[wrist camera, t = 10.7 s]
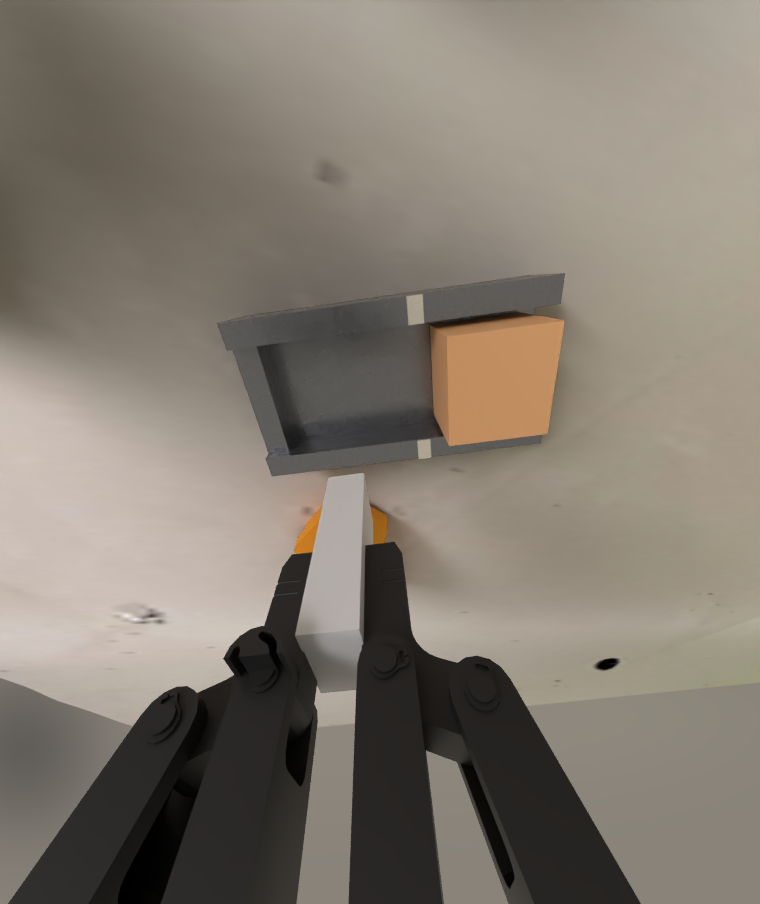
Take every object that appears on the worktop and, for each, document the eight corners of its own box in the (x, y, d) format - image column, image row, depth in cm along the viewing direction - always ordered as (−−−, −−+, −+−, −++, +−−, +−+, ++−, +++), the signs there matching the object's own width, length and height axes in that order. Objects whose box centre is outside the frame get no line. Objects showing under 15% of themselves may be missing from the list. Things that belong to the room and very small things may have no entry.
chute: (285, 449, 35) (271, 477, 30) (243, 316, 28) (216, 323, 23) (516, 420, 34) (541, 444, 29) (530, 275, 27) (566, 273, 22)
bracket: (340, 483, 37) (328, 562, 27) (387, 511, 40) (392, 593, 29) (295, 536, 41) (270, 622, 31) (340, 558, 44) (330, 646, 33)
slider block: (433, 414, 31) (449, 446, 25) (429, 324, 27) (446, 336, 21) (512, 404, 31) (547, 433, 25) (520, 312, 27) (564, 320, 21)
